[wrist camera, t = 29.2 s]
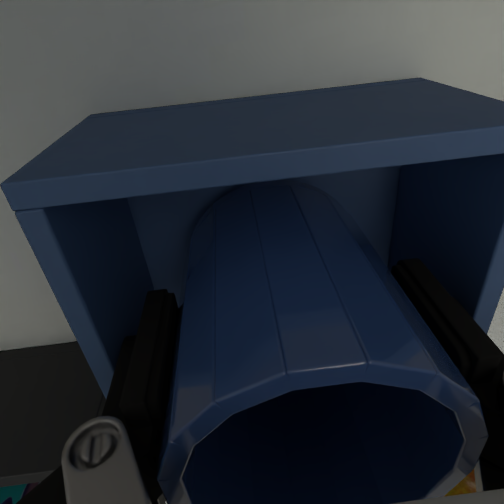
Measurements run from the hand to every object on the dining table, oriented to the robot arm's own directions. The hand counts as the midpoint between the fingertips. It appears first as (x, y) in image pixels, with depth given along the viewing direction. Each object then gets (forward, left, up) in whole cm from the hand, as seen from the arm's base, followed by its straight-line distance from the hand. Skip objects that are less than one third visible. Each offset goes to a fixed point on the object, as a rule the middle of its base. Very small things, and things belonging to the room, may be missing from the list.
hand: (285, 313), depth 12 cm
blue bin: (0, 0, -4) cm, 4 cm away
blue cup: (0, 0, -3) cm, 3 cm away
